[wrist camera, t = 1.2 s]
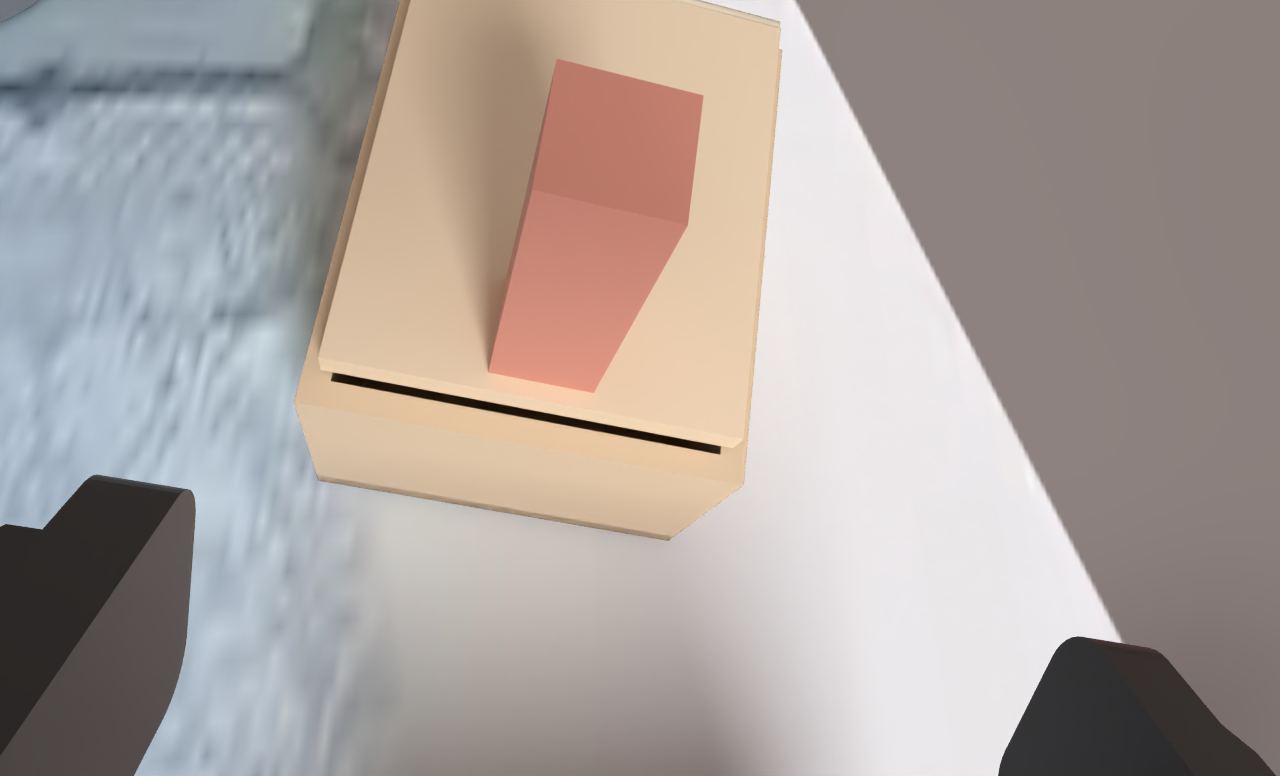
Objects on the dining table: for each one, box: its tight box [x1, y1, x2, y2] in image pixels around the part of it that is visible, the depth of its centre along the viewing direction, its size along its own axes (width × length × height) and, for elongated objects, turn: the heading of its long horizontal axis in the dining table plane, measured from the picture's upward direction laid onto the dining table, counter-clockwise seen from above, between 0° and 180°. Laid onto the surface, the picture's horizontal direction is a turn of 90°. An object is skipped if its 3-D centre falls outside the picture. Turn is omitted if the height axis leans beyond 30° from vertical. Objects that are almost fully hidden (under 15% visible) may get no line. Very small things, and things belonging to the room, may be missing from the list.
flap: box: [318, 0, 781, 448], centre depth 26 cm, size 15×12×11 cm
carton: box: [294, 0, 782, 541], centre depth 35 cm, size 16×13×9 cm
